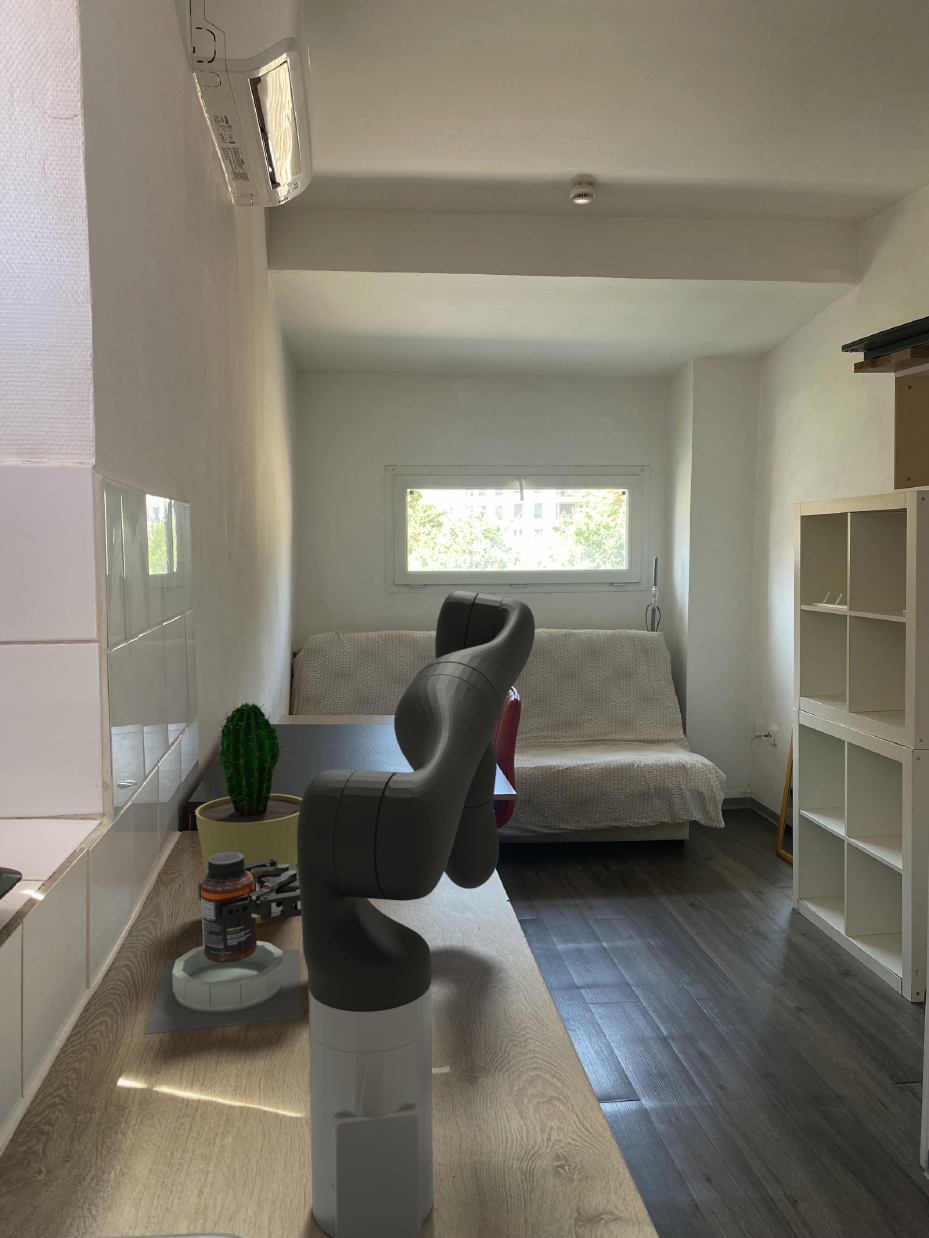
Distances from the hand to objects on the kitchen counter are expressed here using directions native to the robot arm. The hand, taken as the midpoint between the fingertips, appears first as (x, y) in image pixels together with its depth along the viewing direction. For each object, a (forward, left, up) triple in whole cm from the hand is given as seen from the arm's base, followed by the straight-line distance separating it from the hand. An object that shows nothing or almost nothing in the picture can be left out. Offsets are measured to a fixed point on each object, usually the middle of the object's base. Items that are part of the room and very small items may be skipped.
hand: (207, 901), depth 103 cm
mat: (+1, -2, -11) cm, 11 cm away
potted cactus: (+25, -4, -11) cm, 27 cm away
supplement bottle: (+1, -2, -7) cm, 7 cm away
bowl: (+1, -2, -10) cm, 11 cm away
